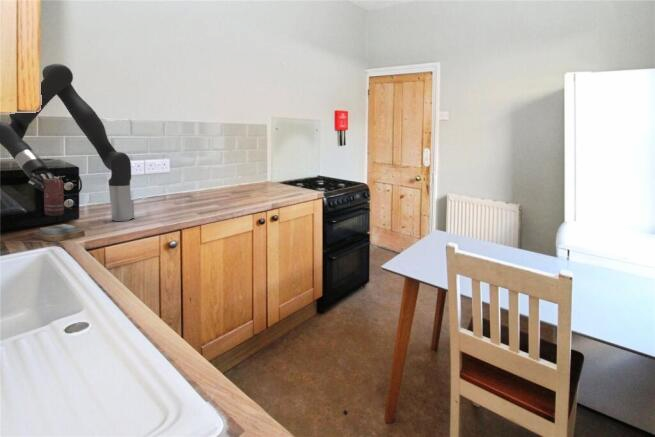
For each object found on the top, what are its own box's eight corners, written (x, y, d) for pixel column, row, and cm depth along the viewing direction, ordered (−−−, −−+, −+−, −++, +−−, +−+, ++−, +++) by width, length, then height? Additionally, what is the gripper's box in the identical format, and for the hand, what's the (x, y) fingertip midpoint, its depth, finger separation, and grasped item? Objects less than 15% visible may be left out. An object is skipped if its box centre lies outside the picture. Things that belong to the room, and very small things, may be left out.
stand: (66, 232, 158) (65, 223, 157) (84, 235, 153) (83, 226, 152) (34, 238, 147) (33, 228, 147) (53, 241, 142) (51, 231, 142)
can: (54, 216, 145) (53, 180, 142) (40, 214, 146) (39, 178, 143) (68, 214, 151) (67, 179, 148) (54, 212, 152) (53, 177, 149)
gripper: (18, 158, 140) (47, 192, 139) (52, 157, 153) (79, 189, 152) (9, 171, 142) (38, 205, 142) (44, 170, 155) (70, 201, 154)
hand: (59, 197), depth 147 cm, fingers closed
